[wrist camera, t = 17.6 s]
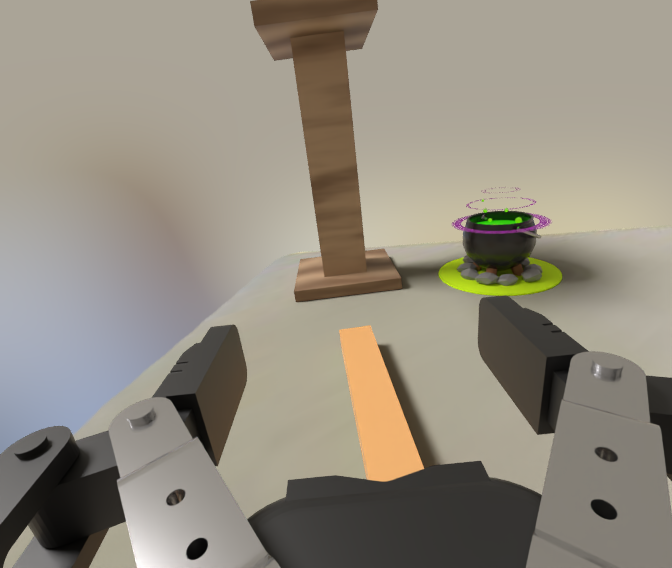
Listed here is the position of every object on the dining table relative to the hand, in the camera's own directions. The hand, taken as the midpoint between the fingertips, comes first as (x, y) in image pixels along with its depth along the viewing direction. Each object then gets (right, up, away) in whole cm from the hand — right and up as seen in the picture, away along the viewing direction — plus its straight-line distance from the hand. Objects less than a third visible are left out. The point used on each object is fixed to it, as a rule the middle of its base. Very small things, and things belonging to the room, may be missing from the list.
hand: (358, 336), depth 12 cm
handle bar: (+2, -9, +13) cm, 16 cm away
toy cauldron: (+21, +3, +36) cm, 42 cm away
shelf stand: (+1, +3, +41) cm, 41 cm away
